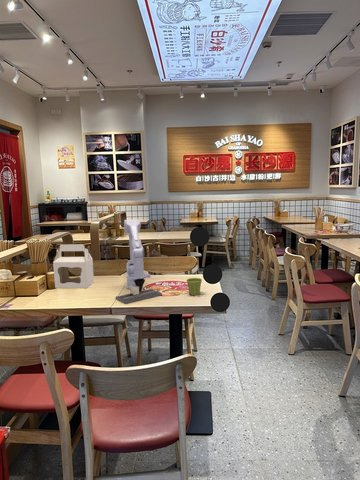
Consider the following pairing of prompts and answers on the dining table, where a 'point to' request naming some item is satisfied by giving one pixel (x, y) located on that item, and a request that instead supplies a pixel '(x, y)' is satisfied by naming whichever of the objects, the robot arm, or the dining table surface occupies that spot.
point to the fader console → (138, 296)
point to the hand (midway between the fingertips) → (139, 291)
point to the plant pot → (194, 285)
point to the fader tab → (134, 290)
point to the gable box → (82, 262)
